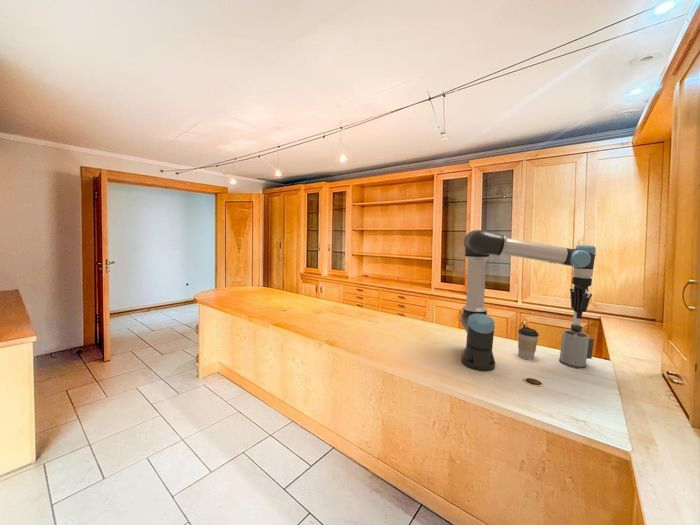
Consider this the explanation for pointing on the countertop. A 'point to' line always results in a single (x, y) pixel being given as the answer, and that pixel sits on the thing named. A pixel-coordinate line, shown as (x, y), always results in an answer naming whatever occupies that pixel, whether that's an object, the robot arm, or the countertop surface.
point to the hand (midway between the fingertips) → (576, 324)
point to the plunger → (576, 328)
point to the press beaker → (575, 349)
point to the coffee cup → (527, 342)
